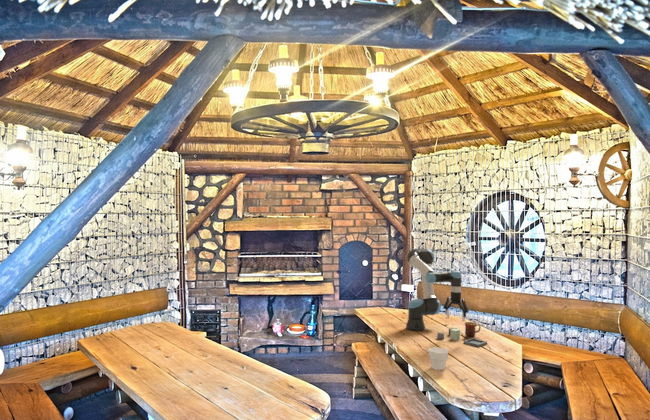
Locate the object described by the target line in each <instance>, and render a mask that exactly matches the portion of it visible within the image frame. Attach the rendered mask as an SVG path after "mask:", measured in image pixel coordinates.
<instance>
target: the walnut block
mask: <svg viewBox="0 0 650 420" xmlns="http://www.w3.org/2000/svg"><path fill="white" fill-rule="evenodd" d="M451 329H457V327H448V336H450V330H451Z"/></svg>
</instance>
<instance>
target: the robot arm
mask: <svg viewBox="0 0 650 420" xmlns="http://www.w3.org/2000/svg"><path fill="white" fill-rule="evenodd" d="M406 261H407V263H408V264H409V265H411V267H414V268H416V270H418V271H419V273H420V277H421V284H422V291H423V293H422V294H423V297H422V298H414V299H410V300H409V301H408V306H407V308H408V312H407V313H408V318H407V322H406V325H405V329H406V330H407V331H411V332H424V331H425V330H426V326H425V322H424V316H434V315H438V314H439V313H440V312H441V308H442V305H441V301H440V300H439V299H438V297H436V296H435V290H434V283H435V284H437V283H450V296H447V297H446V301H445V303H444V304H443V309H445V314H446V319H450V308H451V307H452V306H453V305H457V306H458V307H459V308H460V310H461V311H462V312H461V318H462V319H461V321H462V322H463V323H465V322H466V317H467V313H469V309H468V306H467V303H466V300H465V298H462V272H461V271H459V270H451V271H442V272H436V271H435V270H433V269H432V266H433V263H434V261H435V254H434V252H433V251H432V250H431V249H429V248H420V249H419V248H417V249H416V248H415V249H411V250H410V251H409V252H407V254H406ZM462 322H461V323H462Z"/></svg>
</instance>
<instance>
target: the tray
mask: <svg viewBox="0 0 650 420" xmlns="http://www.w3.org/2000/svg"><path fill="white" fill-rule="evenodd" d="M463 344H465V345H467V344H468V346H472V347H477V348H480V347H482V346H485V345H488V341H486V340H482V339H476V338H475V337H472V338H469V339H466V340H463Z"/></svg>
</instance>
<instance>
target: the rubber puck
mask: <svg viewBox="0 0 650 420" xmlns="http://www.w3.org/2000/svg"><path fill="white" fill-rule="evenodd" d="M436 336H437V337H436V339H437V340H445V333H444V332H440V331H439V332H437V335H436Z"/></svg>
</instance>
